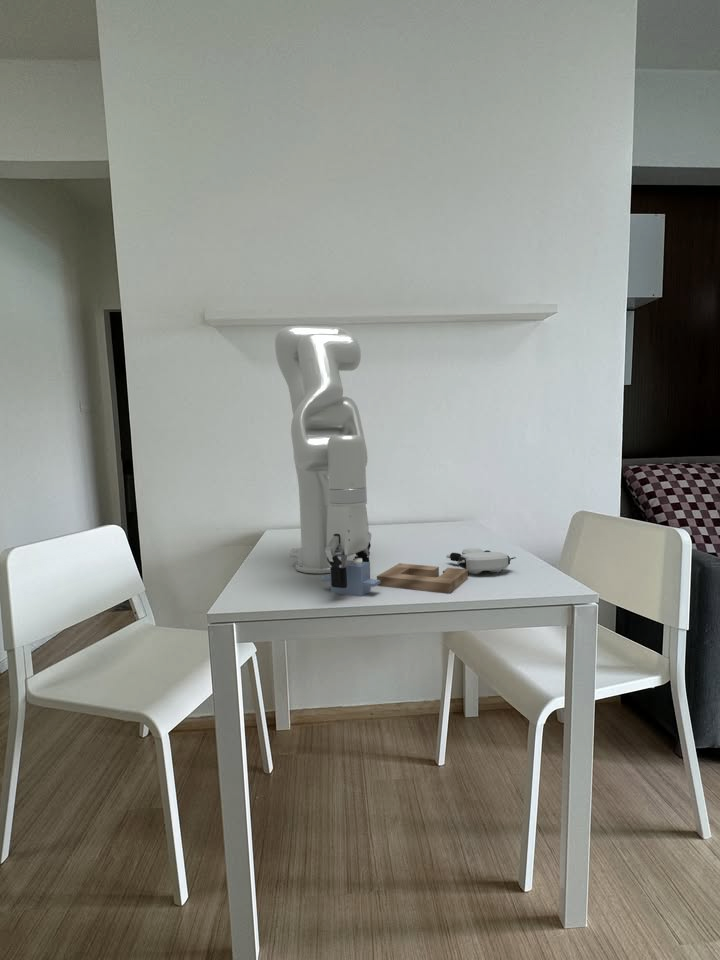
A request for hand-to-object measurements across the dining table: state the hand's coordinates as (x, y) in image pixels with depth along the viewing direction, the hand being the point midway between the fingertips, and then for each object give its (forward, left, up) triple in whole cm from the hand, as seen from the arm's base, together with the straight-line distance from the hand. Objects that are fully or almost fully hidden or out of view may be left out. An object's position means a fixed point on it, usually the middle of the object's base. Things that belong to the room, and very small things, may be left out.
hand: (351, 581), depth 111 cm
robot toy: (+19, +27, -3) cm, 33 cm away
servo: (0, 0, -2) cm, 2 cm away
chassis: (+11, +12, -2) cm, 16 cm away
